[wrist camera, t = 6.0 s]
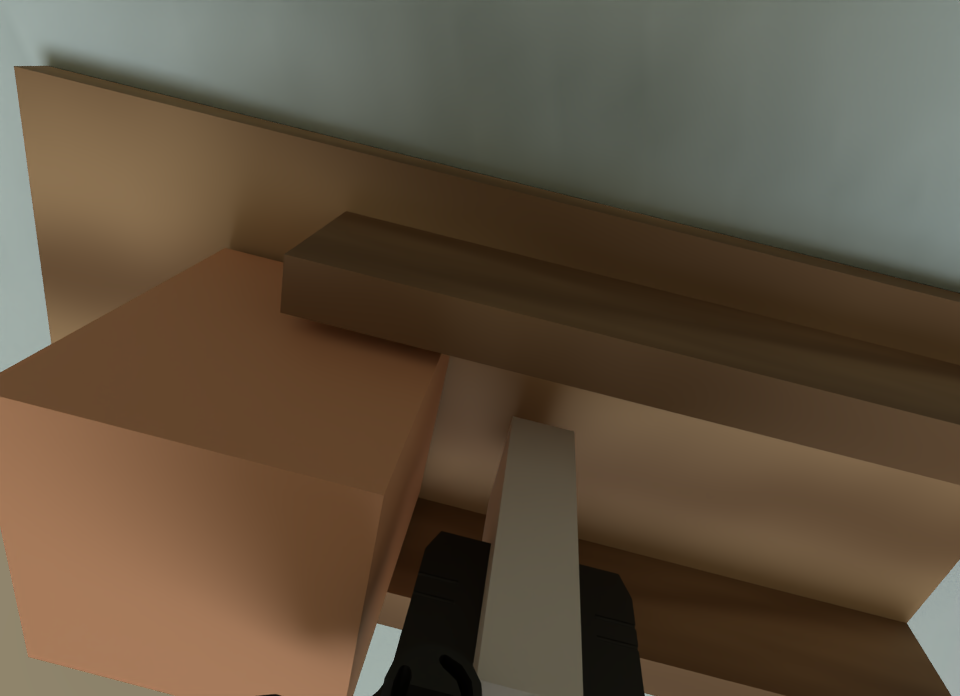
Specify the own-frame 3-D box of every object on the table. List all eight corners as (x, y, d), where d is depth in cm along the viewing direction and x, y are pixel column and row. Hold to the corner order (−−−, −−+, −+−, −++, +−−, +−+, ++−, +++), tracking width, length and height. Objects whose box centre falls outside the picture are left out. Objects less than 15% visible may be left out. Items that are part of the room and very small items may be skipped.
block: (225, 247, 14) (-30, 389, 8) (460, 307, 14) (384, 495, 8) (221, 440, 17) (28, 657, 11) (419, 491, 17) (338, 739, 11)
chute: (48, 66, 14) (-153, 67, 10) (1098, 328, 14) (1317, 436, 10) (91, 453, 20) (-30, 553, 16) (847, 648, 19) (922, 802, 15)
